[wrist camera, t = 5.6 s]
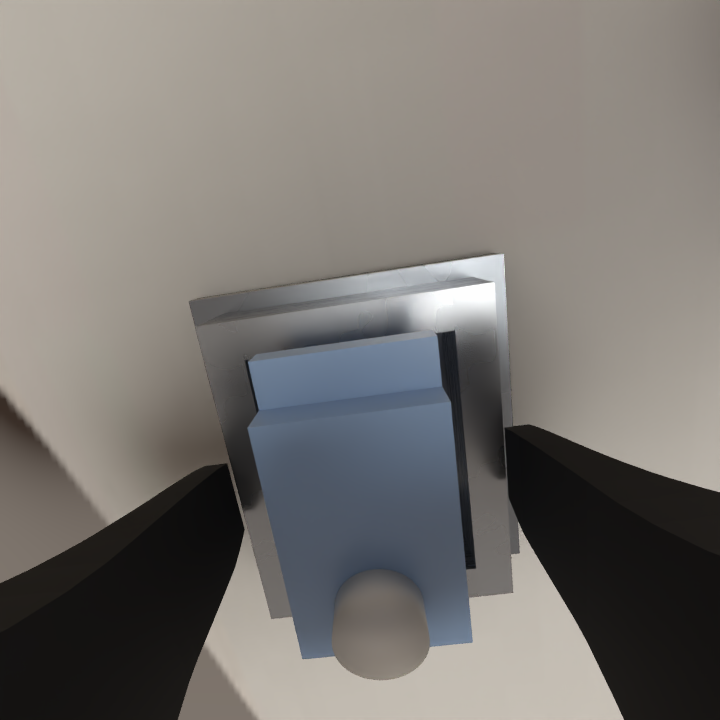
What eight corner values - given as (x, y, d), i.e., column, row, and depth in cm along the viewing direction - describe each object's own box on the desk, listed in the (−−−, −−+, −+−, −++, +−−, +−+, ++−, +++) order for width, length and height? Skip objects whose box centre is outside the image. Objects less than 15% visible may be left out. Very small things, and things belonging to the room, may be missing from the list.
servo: (412, 305, 11) (455, 358, 6) (436, 524, 13) (486, 720, 8) (288, 322, 12) (218, 390, 6) (330, 536, 14) (305, 736, 8)
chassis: (494, 253, 12) (533, 254, 9) (511, 537, 14) (544, 603, 12) (199, 298, 12) (153, 311, 10) (267, 565, 15) (246, 634, 12)
